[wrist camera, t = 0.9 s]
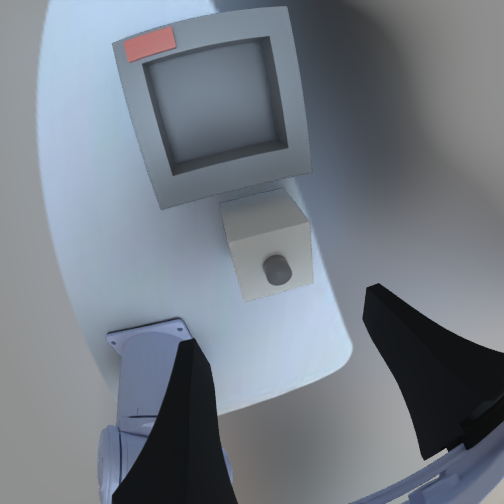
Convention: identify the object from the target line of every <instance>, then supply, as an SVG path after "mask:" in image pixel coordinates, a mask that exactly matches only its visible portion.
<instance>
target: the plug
mask: <svg viewBox="0 0 504 504" xmlns="http://www.w3.org/2000/svg"><path fill="white" fill-rule="evenodd" d="M219 206H220V211H221V215H222V220H223V224H224V229H225V233H226V237H227V242H228V246H229V249H230V253H231V257H232V260H233V264H234V267H235V271H236V274H237V278H238V282H239V285H240V289H241V292H242V296H243V299H244V302H247V301H251V300H255V299H258V298H262V297H266V296H270V295H273V294H277V293H280V292H284V291H287V290H291V289H294V288H298V287H301V286H305V285H308V284H312V283H314V282H313V262H312V245H311V230H310V221H309V220H308V219H307V217H306V216H305V215H304V213H303V212H302V211H301V210H300V208H299V207H298V206H297V204H296V203H295V202H294V201H293V199H292V198H291V197H290V195H289V194H288V193H287V192H286V190H285V189H284V188H281V189H277V190H272V191H268V192H264V193H260V194H255V195H251V196H247V197H243V198H239V199H235V200H231V201H227V202H223V203H220V204H219Z"/></svg>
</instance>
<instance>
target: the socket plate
mask: <svg viewBox="0 0 504 504" xmlns="http://www.w3.org/2000/svg"><path fill="white" fill-rule="evenodd" d="M112 46H113V51H114V55H115V59H116V64H117V68H118V72H119V76H120V80H121V84H122V88H123V92H124V95H125V99H126V103H127V106H128V110H129V113H130V117H131V120H132V124H133V127H134V131H135V134H136V137H137V140H138V144H139V147H140V150H141V153H142V156H143V159H144V162H145V166H146V169H147V172H148V175H149V178H150V180H151V183H152V186H153V189H154V192H155V195H156V198H157V200H158V203H159V206H160V209H161V210H164V209H167V208H171V207H174V206H177V205H181V204H184V203H188V202H192V201H195V200H199V199H202V198H206V197H210V196H214V195H218V194H221V193H225V192H229V191H233V190H237V189H241V188H245V187H249V186H254V185H258V184H262V183H266V182H271V181H275V180H280V179H284V178H289V177H294V176H298V175H303V174H308V173H312V164H311V154H310V145H309V136H308V128H307V120H306V112H305V105H304V98H303V91H302V85H301V78H300V72H299V66H298V60H297V55H296V49H295V44H294V38H293V33H292V28H291V24H290V19H289V14H288V9H287V7H286V6H283V7H266V8H255V9H245V10H237V11H229V12H223V13H217V14H211V15H206V16H201V17H196V18H191V19H187V20H183V21H179V22H175V23H171V24H167V25H164V26H160V27H157V28H154V29H150V30H147V31H144V32H141V33H138V34H135V35H132V36H130V37H127V38H124V39H122V40H119V41H117V42H114V43H112Z"/></svg>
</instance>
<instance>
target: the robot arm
mask: <svg viewBox="0 0 504 504" xmlns="http://www.w3.org/2000/svg"><path fill="white" fill-rule="evenodd" d="M362 319H363V322H364V324H365V326H366V328H367V330H368V333H369V335H370V337H371V339H372V341H373V342H374V344H375V346H376V347H377V349H378V351H379V352H380V354H381V356H382V357H383V359H384V361H385V362H386V364H387V366H388V367H389V369H390V371H391V372H392V374H393V376H394V378H395V379H396V381H397V383H398V385H399V388H400V390H401V392H402V395H403V397H404V400H405V402H406V405H407V408H408V410H409V413H410V416H411V419H412V422H413V425H414V428H415V432H416V435H417V439H418V443H419V448H420V452H421V455H422V458H423V459H424V460H427V459H428V458H430V457H432V456H434V455H435V454H437V453H439V452H440V451H442V450H443V449H445V448H447V450H448V453H447V454H445V455H444V456H442V457H441V458H439V459H437V460H436V461H434V462H433V463H431V464H429V465H428V466H426V467H424V468H423V469H421V470H419V471H417V472H416V473H414V474H412V475H410V476H409V477H407V478H405V479H403V480H401V481H399V482H397V483H395V484H393V485H391V486H389V487H387V488H385V489H382V490H380V491H378V492H376V493H374V494H371V495H369V496H367V497H364V498H362V499H359V500H357V501H354V502H352V503H349V504H385V503H387V502H390V501H392V500H393V499H396V498H398V497H400V496H402V495H404V494H405V493H407V492H409V491H411V490H413V489H414V488H416V487H418V486H420V485H422V484H423V483H425V482H427V481H429V480H430V479H432V478H433V477H435V476H436V475H438V474H440V476H439V478H437V479H434V480H432V481H430V482H428V483H426V484H424V485H423V486H421V487H419V488H418V489H416V490H415V491H413V492H412V493H410V494H409V495H408V497H409V500H408V501H405V502H403V503H401V504H479V503H480V502H481V501H482V500H483V499H484V498H485V497H486V496H487V495H488V494H489V493H490V492H491V491H492V490H493V489H494V488H495V487H496V486H497V484H499V482H500V481H501V480H502V479H503V478H504V353H502V352H498V351H495V350H492V349H489V348H486V347H484V346H481V345H478V344H476V343H474V342H471V341H469V340H467V339H464V338H462V337H460V336H458V335H457V334H455V333H453V332H450V331H449V330H447V329H445V328H444V327H442V326H440V325H438V324H437V323H435V322H434V321H432V320H431V319H429V318H427V317H426V316H424V315H423V314H421V313H420V312H419V311H417V310H416V309H414V308H413V307H411V306H410V305H408V304H407V303H406V302H404V301H403V300H402V299H400V298H399V297H397V296H396V295H395V294H393V293H392V292H391V291H389V290H388V289H386V288H385V287H383V286H382V285H381V284H379V283H378V284H375V285H373V286H370V287H367V288H366V296H365V304H364V312H363V318H362ZM106 339H107V341H108V342H109V343H110V345H111V346H112V347H113V348H114V349H115V351H116V352H117V353H118V354H119V355H120V356H121V357H122V360H121V369H120V379H119V391H118V404H117V424H116V426H113V425H109V426H107V428H105V429H103V430H102V431H101V435H100V440H99V447H98V465H97V468H98V469H97V470H98V483H99V496H100V502H101V504H238V502H237V500H236V497H235V494H234V491H233V488H232V481H233V472H232V466H231V462H230V459H229V457H228V455H227V453H226V452H225V450H224V449H223V447H222V446H221V442H220V436H219V429H218V418H217V408H216V397H215V387H214V382H213V377H212V372H211V367H210V364H209V362H208V360H207V359H206V357H205V355H204V354H203V352H202V350H201V349H200V347H199V345H198V343H197V342H196V340H195V338H193V339H192V337H191V335H190V333H189V331H188V329H187V328H186V326H185V324H184V322H183V321H182V320H179V319H177V320H172V321H168V322H163V323H159V324H154V325H150V326H145V327H140V328H135V329H131V330H126V331H121V332H116V333H111V334H108V335H107V337H106Z"/></svg>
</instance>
